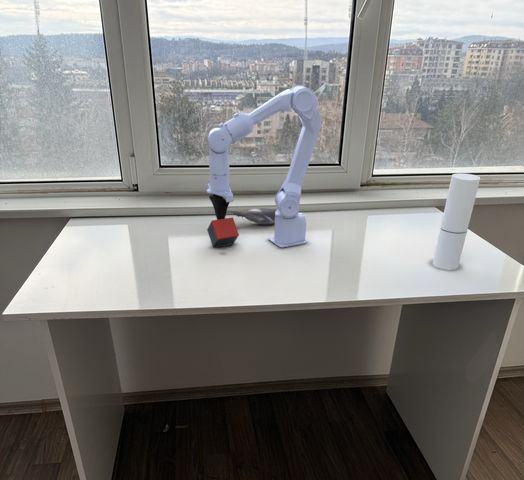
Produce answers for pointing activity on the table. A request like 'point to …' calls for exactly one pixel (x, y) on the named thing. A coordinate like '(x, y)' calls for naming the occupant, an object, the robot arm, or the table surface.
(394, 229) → the table surface
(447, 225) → the cylindrical container
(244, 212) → the decorative bird
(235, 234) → the two-tone lidded box
